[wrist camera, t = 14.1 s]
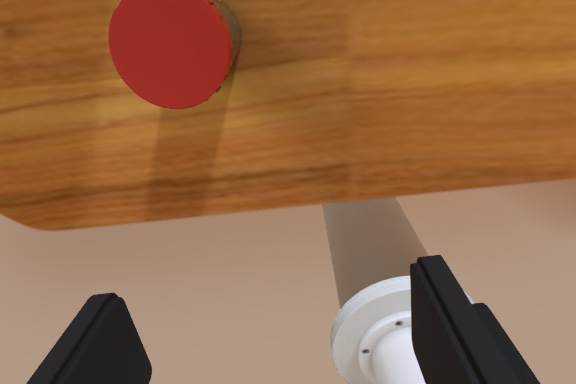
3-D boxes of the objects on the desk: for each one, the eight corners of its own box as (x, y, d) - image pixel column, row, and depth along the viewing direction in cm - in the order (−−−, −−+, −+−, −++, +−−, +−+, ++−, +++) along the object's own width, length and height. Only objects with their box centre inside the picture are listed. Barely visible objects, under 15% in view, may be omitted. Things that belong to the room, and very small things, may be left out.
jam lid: (110, 78, 24) (97, 83, 22) (134, -39, 21) (120, -43, 19) (214, 118, 25) (209, 126, 23) (249, 12, 22) (246, 13, 20)
